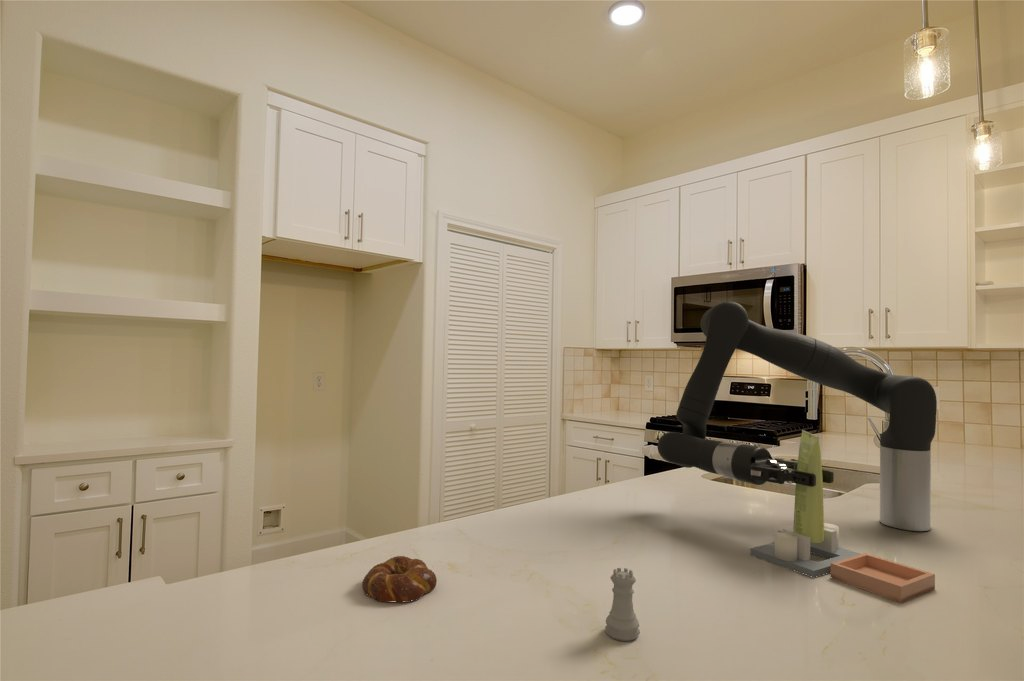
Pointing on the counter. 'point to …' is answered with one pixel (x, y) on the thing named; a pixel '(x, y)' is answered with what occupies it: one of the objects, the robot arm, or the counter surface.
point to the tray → (883, 577)
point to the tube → (809, 491)
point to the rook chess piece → (622, 608)
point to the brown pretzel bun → (399, 580)
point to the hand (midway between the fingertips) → (823, 479)
